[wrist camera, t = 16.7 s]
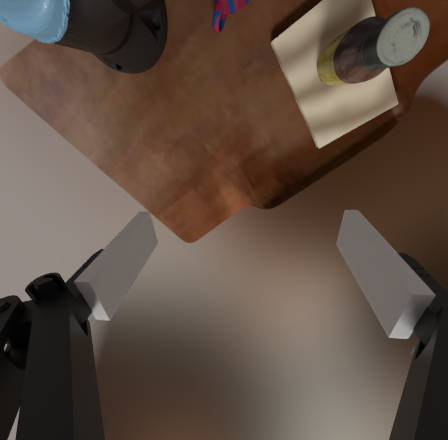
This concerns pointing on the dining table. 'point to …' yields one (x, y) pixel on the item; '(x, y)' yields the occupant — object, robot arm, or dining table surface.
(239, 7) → the mug
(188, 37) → the dining table surface
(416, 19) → the sauce bottle
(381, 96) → the birch board
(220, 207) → the dining table surface
